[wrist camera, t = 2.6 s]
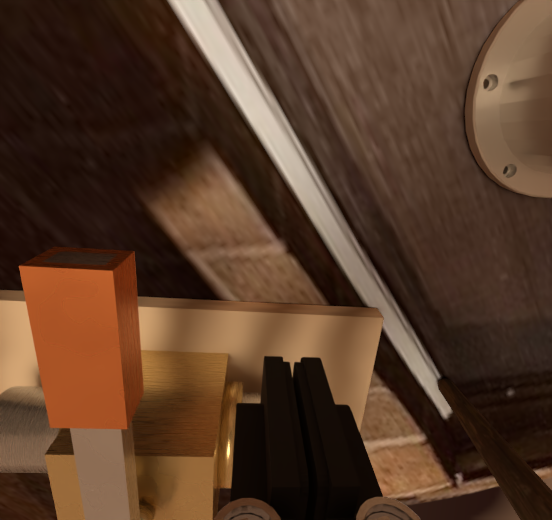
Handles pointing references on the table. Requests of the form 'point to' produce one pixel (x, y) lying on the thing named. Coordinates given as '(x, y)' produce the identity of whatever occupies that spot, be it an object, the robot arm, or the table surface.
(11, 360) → the mounting board
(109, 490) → the valve lever
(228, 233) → the table surface
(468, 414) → the decorative torch
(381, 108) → the table surface
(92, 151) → the table surface
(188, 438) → the valve body
